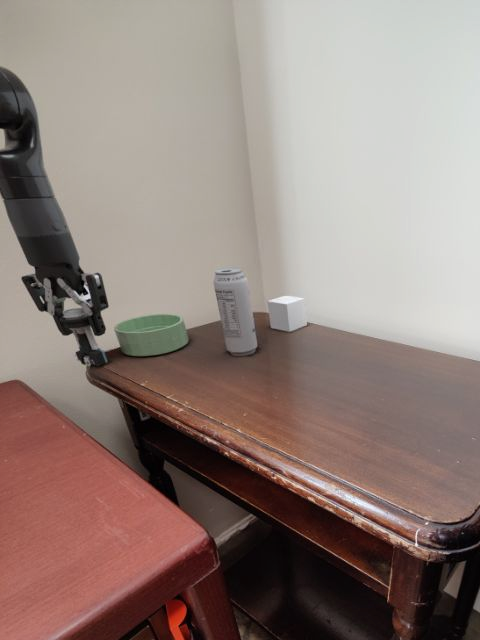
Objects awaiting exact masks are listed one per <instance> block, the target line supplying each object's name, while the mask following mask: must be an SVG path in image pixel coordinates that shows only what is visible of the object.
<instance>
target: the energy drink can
mask: <svg viewBox="0 0 480 640" xmlns="http://www.w3.org/2000/svg"><path fill="white" fill-rule="evenodd" d="M214 273H215V275H214V278H213V282H212V283H213V288H214V293H215V298H216V303H217V308H218V312H219V317H220V323H221V327H222V333H223V337H224V343H225V347H226V350H227V351H228V352H229V353H230V355H231V356H233V357H245V356H249V355H252V354H254V353H255V352H256V349H257V348H258V340H257V334H256V333H257V332H256V327H255V320H254V314H253V307H252V300H251V295H250V287H249V283H248V281H249V280H248V278H247V276H246V275H245V273H244V272H243V268H240V267H227V268H220V269H216V270H215V271H214Z"/></svg>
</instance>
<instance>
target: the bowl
mask: <svg viewBox="0 0 480 640" xmlns="http://www.w3.org/2000/svg"><path fill="white" fill-rule="evenodd" d="M186 327H187V326H186V324H185V320H184V317H183V316H182V315H179V314H174V313H173V314H172V313H158V314H157V313H156V314H147V315H146V314H145V315H142V316H141V315H140V316H136V317H132V318H129V319H126V320H122V321H121V322H119V323H117V324H115V325H114V327H113V328H114V329H113V330H114V333H115V336H116V339H117V341H118V344H119V347H120V350H121V352H122V353H123V354H125V355H127V356H132V357H153V356H159V355H164V354H168V353H169V354H170V353H171V352H174V351H177V350H179V349H181V348H183V347H185V346H186V345H187V344H189V340H190V339H189V336H188V331H187V328H186Z"/></svg>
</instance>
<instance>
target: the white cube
mask: <svg viewBox="0 0 480 640" xmlns="http://www.w3.org/2000/svg"><path fill="white" fill-rule="evenodd" d="M267 310H268V316H269V317H268V318H269V324H270V328H271V329H273V330H274V329H275V330H280V331H284V332H288V333H290V332H293V331H296V330H299V329H301V328H304V327H305V326H307V325H308V319H307V306H306V298H305V297H299V296H292V295H283V296H279V297H276V298H273V299H269V300H267Z"/></svg>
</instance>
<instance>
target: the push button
mask: <svg viewBox="0 0 480 640" xmlns="http://www.w3.org/2000/svg"><path fill="white" fill-rule="evenodd" d="M63 314H64V316H63V317H61V318H60V321H61V322H63V324H64V326H65V328H69V329H70V330H72V331H73V333H72V334H73V336H74V338H75V341H76V342H77V346H78V349H79V350H77V351H75V354H74V355H73V357H76V358H77V359H75V361H76V362H80V363H81V364H82V365H83V366H84V365H85V366H87V367H91V366H95V367H96V368H97V367H98V368H100V367H102V366H104V365H106V364H108V363H109V362H108V359H107V356H106V354H105V353H106V352H105V350H104V349H101V348H100V347H99V345H98V343H97V341H96V338H95V335H94V333H93V331H92V328H91V325H90V323H89V320H88V318H87V316H88V314H87V313H86V312H85V311H84V310H83V308H82V307H75V308H70V309H66V310H64V311H63Z"/></svg>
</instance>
